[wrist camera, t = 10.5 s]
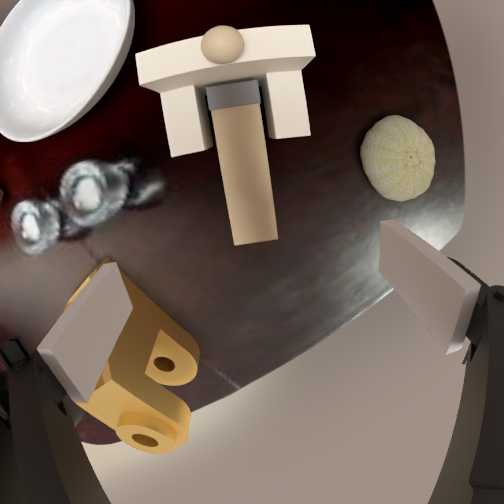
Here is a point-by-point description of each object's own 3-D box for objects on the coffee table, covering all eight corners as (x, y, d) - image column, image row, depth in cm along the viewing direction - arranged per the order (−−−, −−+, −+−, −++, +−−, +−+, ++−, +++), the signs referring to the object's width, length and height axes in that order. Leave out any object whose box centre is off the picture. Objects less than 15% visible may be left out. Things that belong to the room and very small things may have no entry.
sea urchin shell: (373, 216, 29) (388, 170, 22) (346, 162, 32) (351, 112, 25) (437, 198, 28) (462, 155, 21) (408, 149, 31) (421, 103, 24)
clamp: (213, 353, 40) (203, 449, 25) (172, 376, 42) (154, 462, 27) (107, 256, 33) (40, 335, 18) (74, 293, 35) (17, 368, 21)
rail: (235, 224, 32) (233, 247, 26) (213, 96, 26) (205, 87, 20) (272, 219, 32) (279, 240, 26) (254, 90, 26) (257, 79, 20)
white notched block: (187, 150, 28) (143, 168, 16) (175, 79, 25) (123, 45, 12) (295, 134, 28) (337, 138, 15) (284, 61, 25) (316, 12, 12)
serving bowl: (32, 6, 18) (4, -5, 11) (168, -26, 19) (153, -53, 13) (8, 141, 26) (-25, 149, 19) (137, 135, 27) (110, 137, 21)
